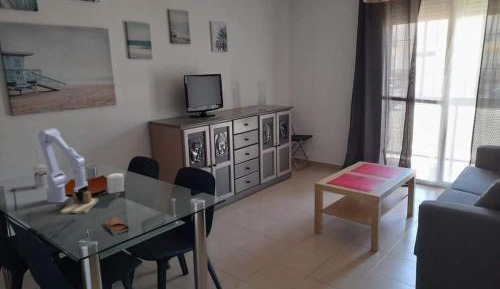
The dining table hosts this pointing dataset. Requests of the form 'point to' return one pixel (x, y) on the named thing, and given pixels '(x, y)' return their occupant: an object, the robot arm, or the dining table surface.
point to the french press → (40, 176)
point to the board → (79, 207)
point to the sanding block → (85, 197)
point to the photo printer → (115, 183)
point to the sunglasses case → (115, 224)
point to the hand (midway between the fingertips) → (82, 199)
